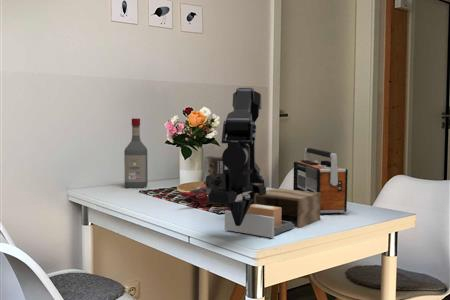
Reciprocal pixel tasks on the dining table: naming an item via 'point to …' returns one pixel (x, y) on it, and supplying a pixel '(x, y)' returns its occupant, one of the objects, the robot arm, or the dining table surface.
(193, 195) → the decorative bird figurine
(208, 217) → the dining table surface
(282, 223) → the tray
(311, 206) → the box
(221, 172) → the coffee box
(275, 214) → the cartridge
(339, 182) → the radio cassette player
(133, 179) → the liquor
